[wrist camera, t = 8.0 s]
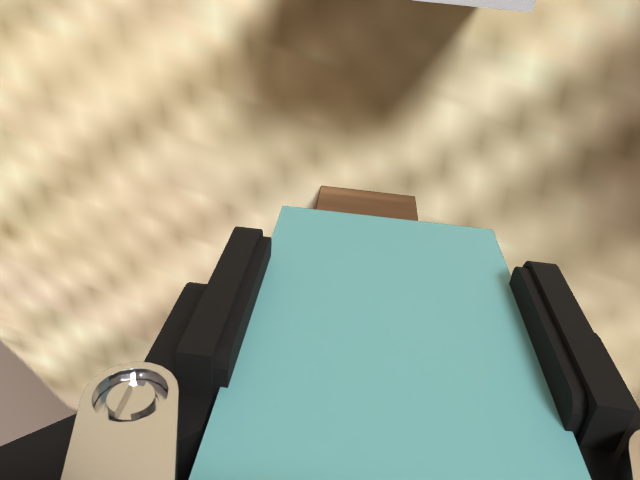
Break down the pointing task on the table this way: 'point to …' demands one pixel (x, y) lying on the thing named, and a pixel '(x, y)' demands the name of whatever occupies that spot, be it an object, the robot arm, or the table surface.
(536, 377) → the teal block
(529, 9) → the end block
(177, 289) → the table surface
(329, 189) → the brown wooden block
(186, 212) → the table surface
